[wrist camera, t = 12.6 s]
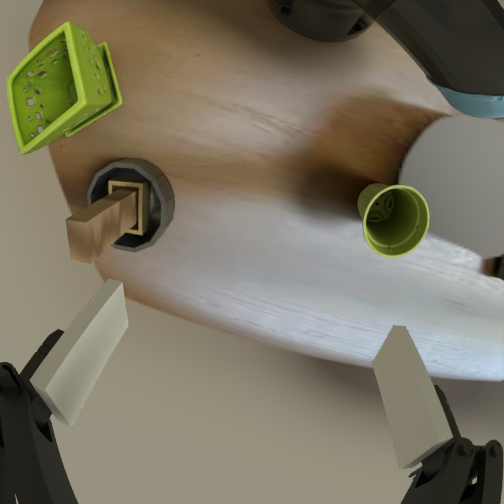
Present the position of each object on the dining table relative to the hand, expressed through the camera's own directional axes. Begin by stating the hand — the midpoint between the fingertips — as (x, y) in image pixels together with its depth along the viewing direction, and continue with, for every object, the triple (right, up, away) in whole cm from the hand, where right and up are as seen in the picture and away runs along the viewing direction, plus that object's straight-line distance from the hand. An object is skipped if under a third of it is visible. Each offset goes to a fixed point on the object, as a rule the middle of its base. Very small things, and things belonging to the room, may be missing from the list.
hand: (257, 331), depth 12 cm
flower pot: (-26, +29, +20) cm, 44 cm away
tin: (-18, +12, +28) cm, 35 cm away
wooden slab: (-19, +11, +27) cm, 35 cm away
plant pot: (+18, +11, +26) cm, 33 cm away
